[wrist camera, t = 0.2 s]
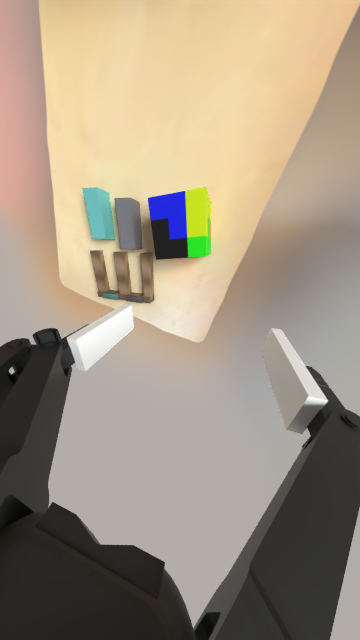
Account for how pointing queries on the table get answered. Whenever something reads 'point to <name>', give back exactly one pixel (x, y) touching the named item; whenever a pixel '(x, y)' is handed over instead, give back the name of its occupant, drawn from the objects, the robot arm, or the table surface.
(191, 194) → the puzzle toy
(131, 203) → the grey block
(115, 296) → the comb rack
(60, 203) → the table surface
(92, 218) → the teal block
